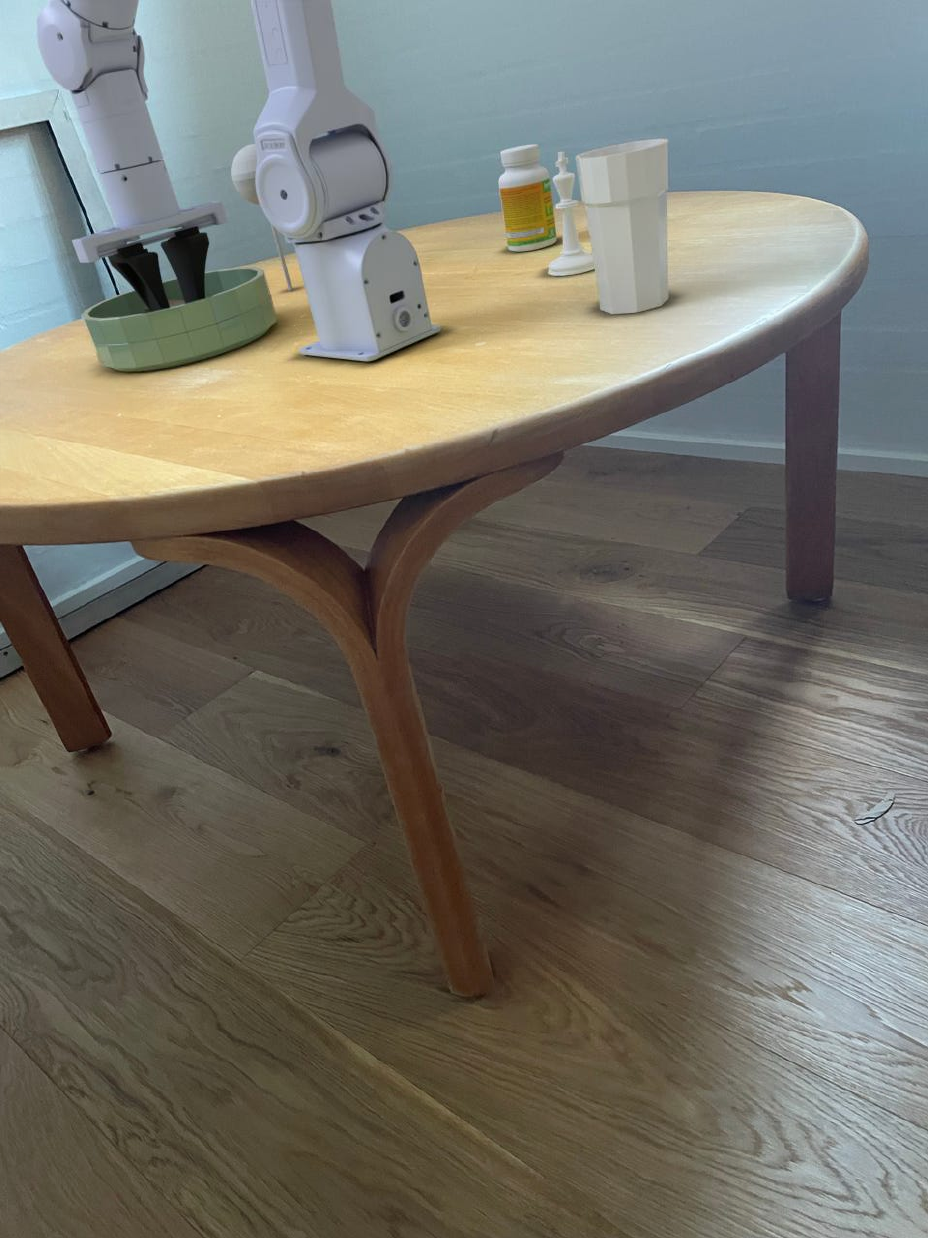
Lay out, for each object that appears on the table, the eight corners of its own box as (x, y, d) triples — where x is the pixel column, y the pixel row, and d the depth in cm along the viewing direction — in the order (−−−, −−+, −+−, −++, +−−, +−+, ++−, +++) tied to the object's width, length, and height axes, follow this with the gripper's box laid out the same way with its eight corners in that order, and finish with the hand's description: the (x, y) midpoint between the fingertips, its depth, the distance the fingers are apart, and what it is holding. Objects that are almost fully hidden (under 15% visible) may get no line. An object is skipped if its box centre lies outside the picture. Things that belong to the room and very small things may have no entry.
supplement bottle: (559, 245, 97) (546, 144, 92) (508, 255, 97) (493, 155, 92) (555, 237, 101) (543, 140, 96) (507, 246, 102) (493, 150, 97)
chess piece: (609, 260, 86) (597, 143, 81) (586, 274, 83) (573, 153, 78) (563, 263, 89) (549, 150, 84) (539, 277, 86) (523, 160, 80)
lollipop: (305, 293, 100) (265, 142, 93) (257, 300, 102) (213, 152, 94) (323, 279, 105) (287, 135, 98) (277, 287, 107) (238, 145, 99)
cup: (640, 319, 67) (626, 154, 62) (574, 314, 72) (556, 161, 66) (695, 293, 71) (687, 135, 65) (629, 290, 75) (616, 142, 70)
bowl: (312, 320, 88) (298, 266, 85) (156, 381, 78) (135, 323, 76) (219, 314, 99) (204, 266, 96) (73, 367, 90) (52, 315, 87)
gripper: (179, 153, 87) (224, 298, 94) (36, 187, 79) (97, 343, 86) (218, 147, 82) (262, 300, 89) (70, 182, 75) (131, 347, 82)
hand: (183, 321), depth 88 cm, fingers closed on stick, 3 cm apart
